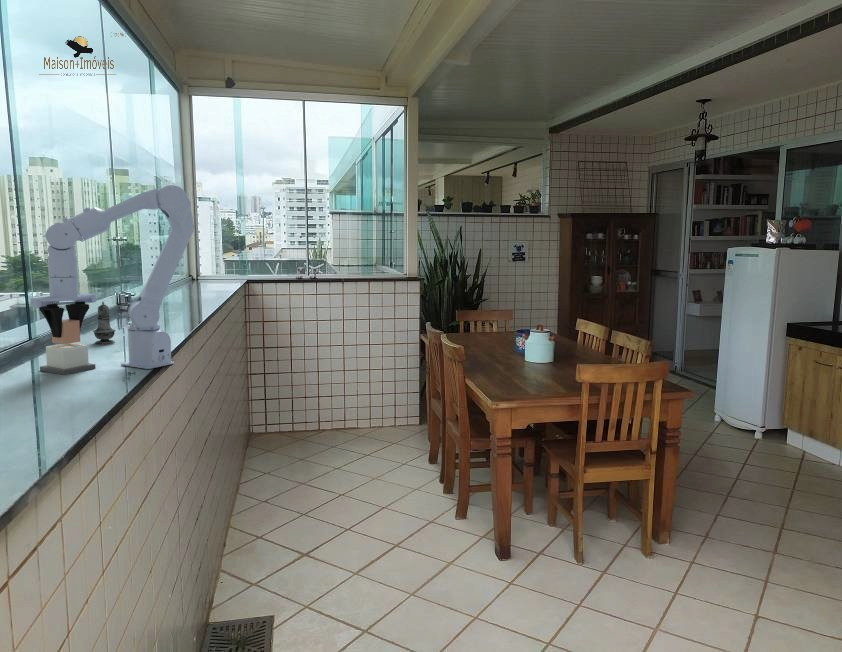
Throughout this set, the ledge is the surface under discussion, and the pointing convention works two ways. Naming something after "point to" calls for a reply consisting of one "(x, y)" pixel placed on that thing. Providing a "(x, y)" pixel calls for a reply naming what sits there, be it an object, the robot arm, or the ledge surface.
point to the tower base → (67, 359)
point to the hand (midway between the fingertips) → (66, 335)
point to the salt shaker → (104, 326)
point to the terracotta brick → (68, 332)
